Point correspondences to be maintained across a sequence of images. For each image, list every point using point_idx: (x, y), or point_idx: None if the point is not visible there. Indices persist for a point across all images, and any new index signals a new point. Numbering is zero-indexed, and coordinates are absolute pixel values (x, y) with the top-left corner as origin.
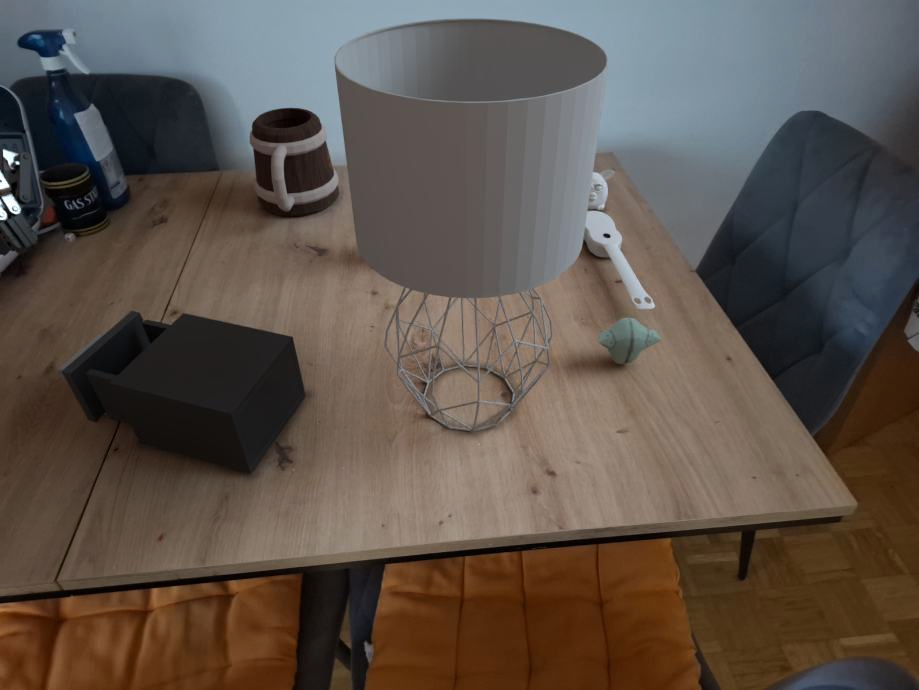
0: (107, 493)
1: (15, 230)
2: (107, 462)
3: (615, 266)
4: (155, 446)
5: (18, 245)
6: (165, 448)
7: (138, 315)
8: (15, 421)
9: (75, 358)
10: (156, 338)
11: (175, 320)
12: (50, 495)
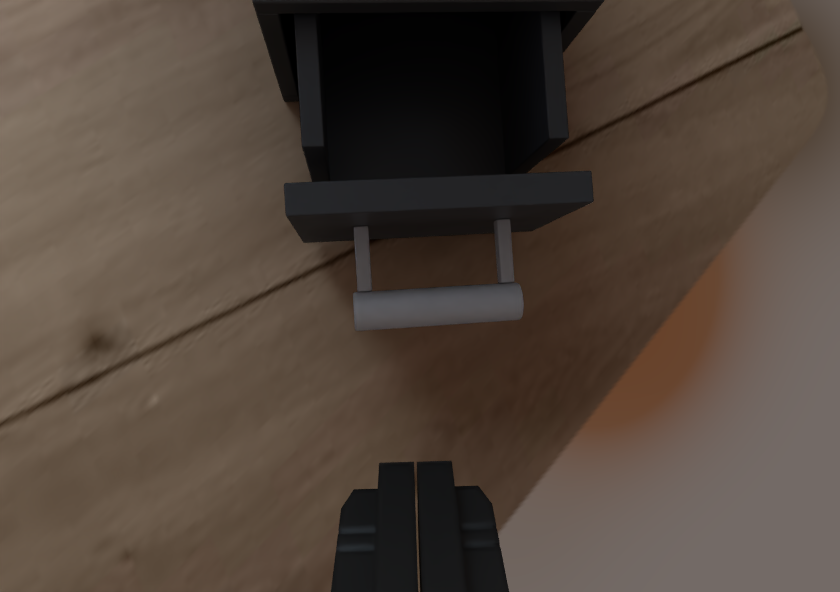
0: (649, 68)
1: (453, 542)
2: (591, 124)
3: None
4: None
5: (474, 496)
6: None
7: (294, 184)
8: (579, 405)
9: (473, 297)
10: (397, 2)
11: (297, 3)
12: (692, 169)
